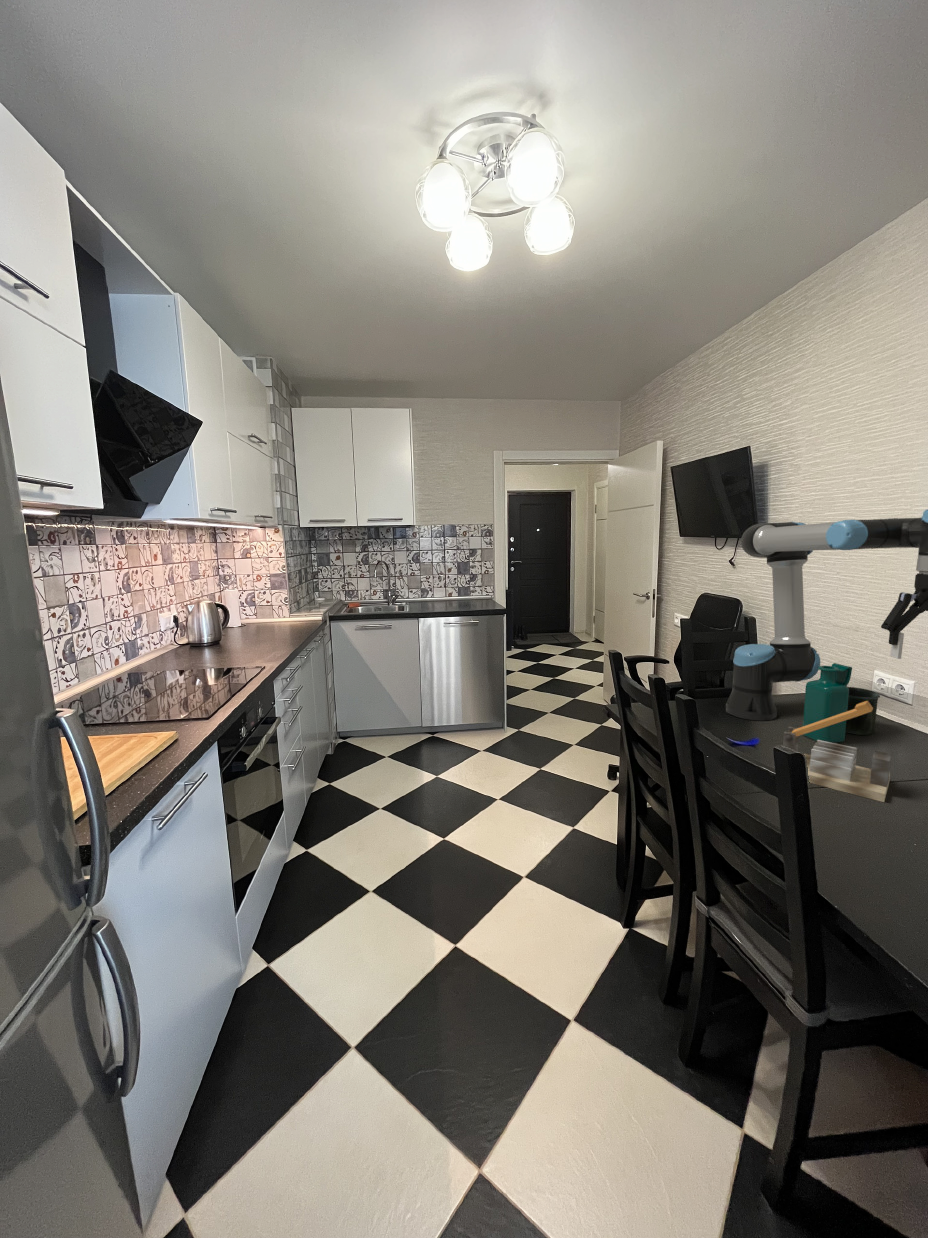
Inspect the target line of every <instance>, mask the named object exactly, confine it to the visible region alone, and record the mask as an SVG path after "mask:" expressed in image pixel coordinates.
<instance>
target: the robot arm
mask: <svg viewBox="0 0 928 1238" xmlns="http://www.w3.org/2000/svg"><path fill="white" fill-rule="evenodd" d="M740 545H741V548H742V550H743V551H744V553H745V554H747V555H748V556H750V557H753V558H759V559H766V564H767V565H768V566H769V567H770V568H771V571H772V572H771V573H772V574H771V575H772V598H773V602H772V603H773V623H774V624H773V625H774V627H773V628H774V637H773V638H772V639H771V641H769V644H766V643H765V644H764V643H758V644H757V643H751V644H744V645H741V646H738V647H737V648H736V649H735V651H734V657H733V658H732V660H733V661H732V662H733V675H732V688H731V689H732V690H731V692H730V694H729V697H728V698H727V701H726V704H725V712H726V713H727V714H729V715H732V716H734V717H736V718H740V719H744V720H750V721H761V722H762V721H763V722H764V721H772V720H774V719H776V718H777V716H778V709H777V707H776V703H775V700H774V696H773V684H775V683H785V682H795V683H798V682H802V681H808V680H811V679H812V678H813V677H814V676H816V675H817V674H818V672H819V671H820V670H819V669H818V668H817V667H818V666H821V657H820V654H819V653H817V652H818V651H817V650H816V648H814V647H812V646H811V643H812V642H811V641H810V639H807V638H806V633H805V632H806V628H805V607H804V606H805V602H804V600H805V599H804V581H803V580H804V578H803V577H804V576H803V574H804V573H803V566H804V565H805V564H806V563H808V559H809V558H808V556H809V555H811V554H812V553H813V551H836V550H837V551H850V550H851V551H853V550H869V549H874V550H875V549H892V548H893V549H894V548H899V549H903V548H905V549H907V548H913V549H914V548H916V549H918V554H917V561H916V565H915V567H916V568H915V571H917V573H916V574H915V576H914V586H913V587H914V590H915V591H914V592H913V593H909V592H903V591H901V592H900V593H899V595H898V599H897V601H896V603H895V605H893V607H892V609H891V611H890V612H889V613H888V615H887V616H886V618H885V619H884V620H883V622H882V624H880V625H881V626H880V628H881V629H883V630H886V631H889V636H888V644H889V645H891V646H890V652H889V653H890V655H889V657H891V658H895V659H898V660H901V659H902V654H903V647H904V646H903V645H904V638H905V633H904V632H902V631H903V630H904V629H905V628H906V627H907V626H908V625H909V624H911V622H912V621H914V620H915V619H916V618H917V617H919V615H920V614H922V613H923V614H924V612H928V509H925V510H924V511H923V513H922V516H921V517H905V518H904V517H902V518H901V517H899V518H898V517H897V518H894V517H893V518H890V517H889V518H878V519H876V518H874V519H844V520H839V521H838V520H837V521H830V522H818V523H808V524H806V523H804V522H797V521H796V522H795V521H790V522H789V521H784V522H762V523H757V524H753V525H751V526H750V527H748V528H747V529H746V530H745V531H744V532H743V534H742V536H741V538H740ZM913 601H914V602H913ZM911 602H913V603H912V604H911ZM910 604H911V605H910Z"/></svg>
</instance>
